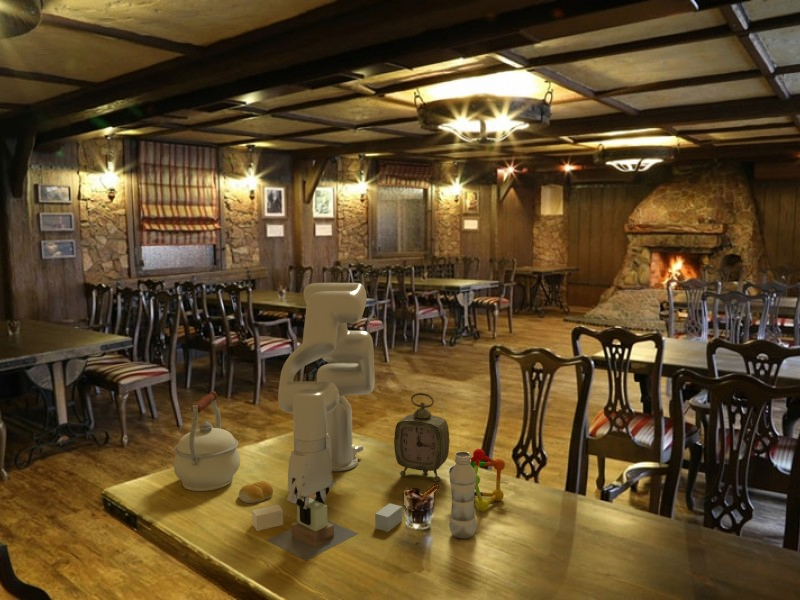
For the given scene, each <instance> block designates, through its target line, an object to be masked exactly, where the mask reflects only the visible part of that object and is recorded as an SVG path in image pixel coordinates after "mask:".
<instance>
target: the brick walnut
mask: <svg viewBox="0 0 800 600" xmlns="http://www.w3.org/2000/svg"><path fill="white" fill-rule="evenodd" d="M291 529H292V537H295V538H297V539H299V540H301V541H303V542H305V543H307V544H309V545H311V546H313V547H316V546H318V545H320V544H322V543H324V542H326V541H328V540H330V539H332V538H334V525H332V524H330V523H328V526H327V527H325V528H322V529H320V530H318V531H316V532H315V531H313V530H311V529H309V528H307V527H305V526H303V525H301V524H299V523H297V521H295V522H292V523H291Z"/></svg>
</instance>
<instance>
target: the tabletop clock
mask: <svg viewBox="0 0 800 600" xmlns="http://www.w3.org/2000/svg"><path fill="white" fill-rule="evenodd" d="M416 396H425V397H427V398H428V399H431V403H430V404H427V405H426V404H425V402H423V401H422V402H420V404H418V403H416V402H414V398H415V397H416ZM410 401H411V404H412V405H413V406H415V407H418V408H417V409H416V410H415V411H414V413H411V414H407V415H406V416H404V417H403V418H402V419H400V420H399V421H398V422H397V423H396V425H395V428H394V440H393V443H394V455H395V456H394V457H395V460H396V462H397V464H398V465H399V466H401V467H403V468H404V469H403V470H402V471H400V472H399V474H400V476H401V477H406V471H407V470H408V469H411V470H416V471H422V473H424V474H428V472H433V473H434V481H435V482H436V483H438V482H440V481H441V477H440V476H439V475H438V472H437V471H438V470H439V469H440V467H442V466H443V464H444V463H445V462H447V459H448V457H449V452H450V443H451V442H450V441H451V440H450V430H449V424H448V422H447V420H446V419H445V418H443V417H441V416H438V415H432V413H431V411H430V410H429V409H428V408H431V407H432V406H433V405H434V404H435V401H434V398H433V396H431V395H430V394H428V393H424V392H418V393H414V394H413V395H412V396H411V398H410Z"/></svg>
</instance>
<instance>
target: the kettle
mask: <svg viewBox="0 0 800 600" xmlns="http://www.w3.org/2000/svg"><path fill="white" fill-rule="evenodd" d="M217 398H218V395H217V393H216V391H210V392H209V393H208V394H207V395H205V396H204V397H202V398H201V399H200V400H199V401H197V403H195V404H192V406H191V408H190V410H191V412H192V423H191V428H190V432H188V433H186V434H184V435H183V436H182V437H181V438H180V439H179V440H178V443H177V444H176V445H175V446H174V449H173V451H174V453H175V457H174V460H173V471H174V474H175V476H176V478H178V479H179V480H180V481H181V482H182V486H183V487H184V488H185V489H187V490H189V491H194V492H208V491H210V492H211V491H214V490H218V489H219V490H220V489H221V488H224V487H227V486H228V485H230V484H231V482H232V481H233V480H234V476H235V474H236V473H237V472H238V470H239V468H240V466H241V456H240V452H239V449H238V446H239V442H238V439H236V438H235V437H234V435H233V434H232V433H231V432H230V431H228V430H226V429H224V428H222V419H221V418H222V417H221V413H220V410H219V408H218V406H217ZM209 405H211V408H212V409H213V411H214V414H215V421H216V422H215V427H214V426H213V425H212V423H211V422H209V421H206V420H205V421H203V422H202V423H201V424H200V425H199V426H198V423H199V413H201V412H202V410H204V409H206V408H207V407H208V406H209ZM197 426H198V427H197ZM197 428H198V429H197Z"/></svg>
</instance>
